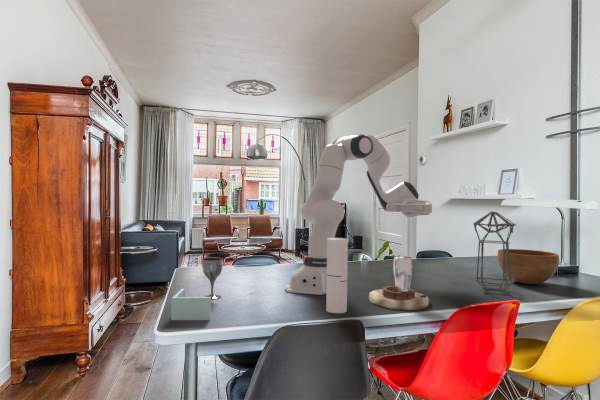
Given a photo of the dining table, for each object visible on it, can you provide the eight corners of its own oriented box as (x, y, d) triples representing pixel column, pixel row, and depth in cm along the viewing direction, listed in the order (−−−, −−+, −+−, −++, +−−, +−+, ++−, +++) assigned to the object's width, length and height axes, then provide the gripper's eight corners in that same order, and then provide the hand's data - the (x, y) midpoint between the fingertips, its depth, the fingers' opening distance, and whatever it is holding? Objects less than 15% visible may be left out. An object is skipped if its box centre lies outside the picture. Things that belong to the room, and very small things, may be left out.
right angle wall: (210, 321, 112) (210, 297, 112) (171, 321, 111) (171, 298, 111) (216, 310, 124) (216, 288, 124) (181, 310, 123) (181, 288, 123)
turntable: (372, 308, 125) (373, 296, 125) (365, 292, 147) (366, 282, 147) (436, 311, 124) (436, 298, 124) (419, 294, 146) (420, 283, 146)
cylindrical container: (324, 307, 127) (325, 237, 127) (344, 307, 127) (345, 237, 127) (327, 313, 120) (329, 239, 120) (348, 313, 120) (349, 240, 120)
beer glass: (413, 299, 131) (413, 258, 131) (393, 298, 132) (394, 258, 132) (410, 294, 138) (411, 256, 138) (392, 293, 139) (392, 255, 139)
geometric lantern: (474, 293, 150) (473, 211, 151) (473, 286, 164) (473, 211, 165) (517, 298, 143) (516, 211, 144) (512, 290, 157) (512, 211, 158)
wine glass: (203, 301, 132) (204, 261, 133) (199, 295, 140) (200, 257, 140) (224, 298, 136) (225, 259, 136) (219, 293, 143) (220, 256, 143)
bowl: (556, 282, 174) (557, 251, 174) (561, 292, 153) (561, 258, 153) (498, 276, 188) (498, 247, 188) (495, 285, 167) (495, 253, 167)
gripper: (388, 201, 173) (382, 200, 160) (433, 201, 164) (430, 201, 152) (388, 213, 173) (382, 214, 160) (433, 214, 164) (430, 215, 152)
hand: (406, 208), depth 156 cm, fingers open, 8 cm apart
